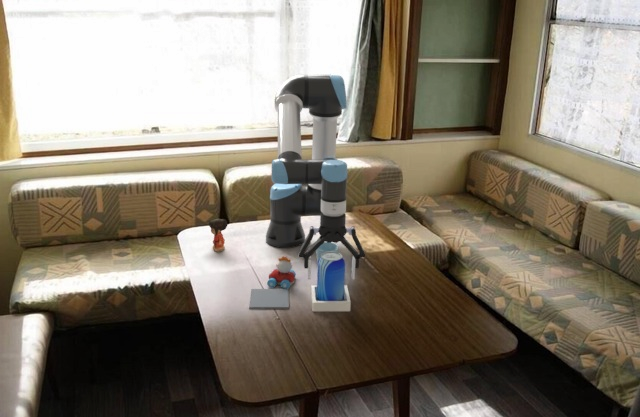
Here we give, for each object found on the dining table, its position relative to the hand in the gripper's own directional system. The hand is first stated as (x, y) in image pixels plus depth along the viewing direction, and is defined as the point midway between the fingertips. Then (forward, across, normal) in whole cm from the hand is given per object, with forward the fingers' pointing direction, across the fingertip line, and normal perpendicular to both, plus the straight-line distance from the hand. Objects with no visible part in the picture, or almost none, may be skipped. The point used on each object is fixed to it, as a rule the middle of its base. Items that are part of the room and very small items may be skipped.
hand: (331, 277), depth 191 cm
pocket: (+9, 0, 0) cm, 9 cm away
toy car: (+9, -15, +14) cm, 23 cm away
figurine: (+8, -39, +42) cm, 58 cm away
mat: (+9, -19, +2) cm, 21 cm away
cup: (+9, 0, +20) cm, 22 cm away
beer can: (+9, 0, 0) cm, 9 cm away
